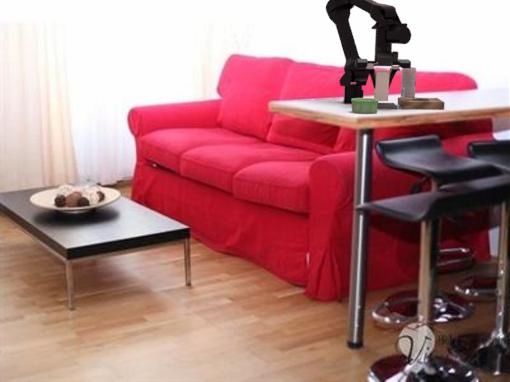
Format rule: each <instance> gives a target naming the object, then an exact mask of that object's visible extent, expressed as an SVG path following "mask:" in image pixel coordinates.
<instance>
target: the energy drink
mask: <svg viewBox="0 0 510 382" xmlns="http://www.w3.org/2000/svg"><path fill="white" fill-rule="evenodd" d="M416 82H417V68H416V67H411V68H401V83H400V84H401V85H400V97H403V98H416V84H417V83H416Z"/></svg>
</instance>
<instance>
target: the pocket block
mask: <svg viewBox="0 0 510 382" xmlns="http://www.w3.org/2000/svg"><path fill="white" fill-rule="evenodd" d="M445 103H446V102H445V101H443V100H442V99H440V98H438V97H415V98H403V97H401V96H399V97H397V106H399V107H400V108H401V109H402V110H436V109H438V110H439V111H440V110H442V111H443V110H445Z"/></svg>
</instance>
